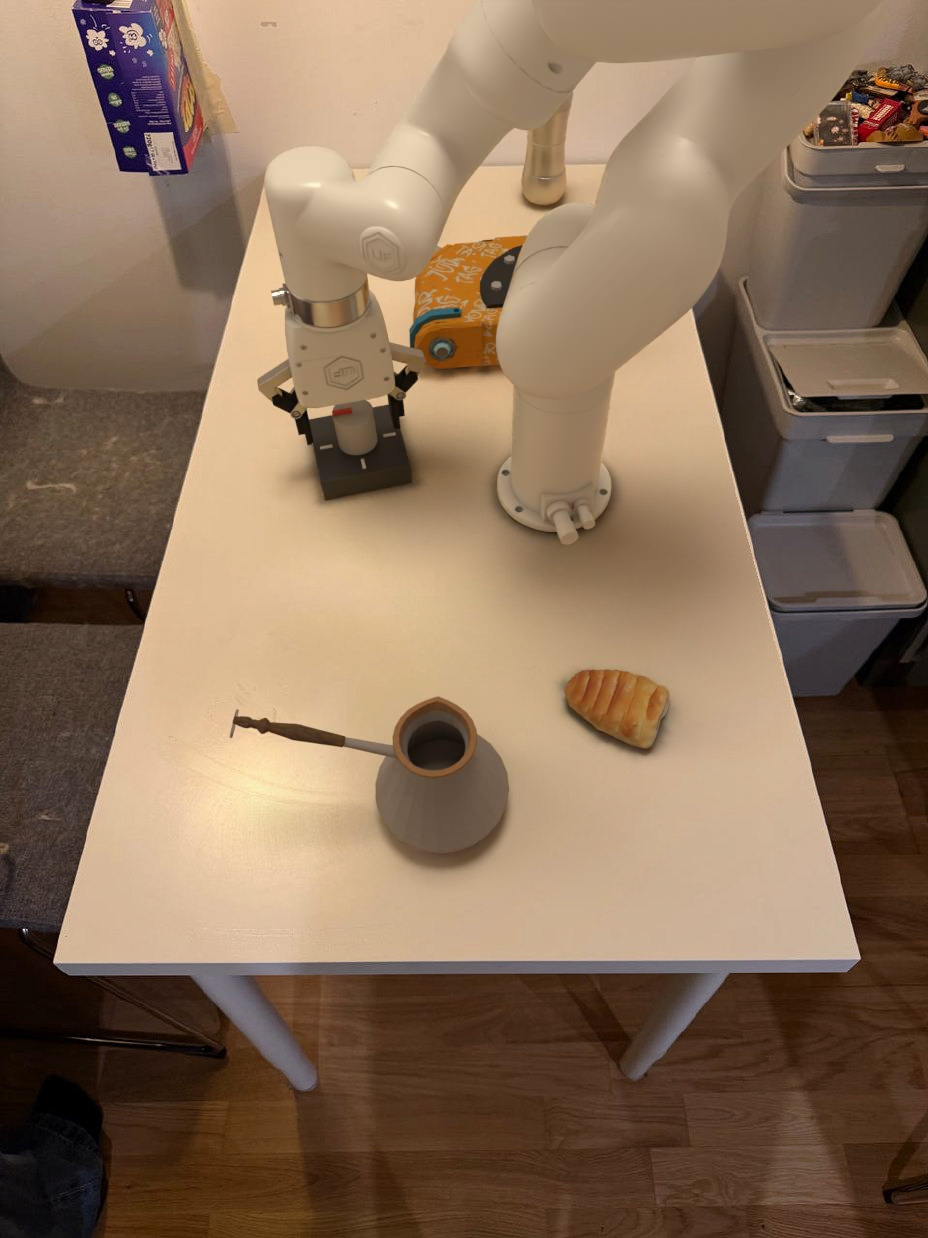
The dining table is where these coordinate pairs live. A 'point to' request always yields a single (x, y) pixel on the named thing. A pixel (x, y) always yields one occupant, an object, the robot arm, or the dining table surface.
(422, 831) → the coffee pot
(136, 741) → the dining table surface
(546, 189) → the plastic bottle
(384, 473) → the timer panel
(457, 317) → the device
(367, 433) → the timer knob
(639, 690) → the pastry
